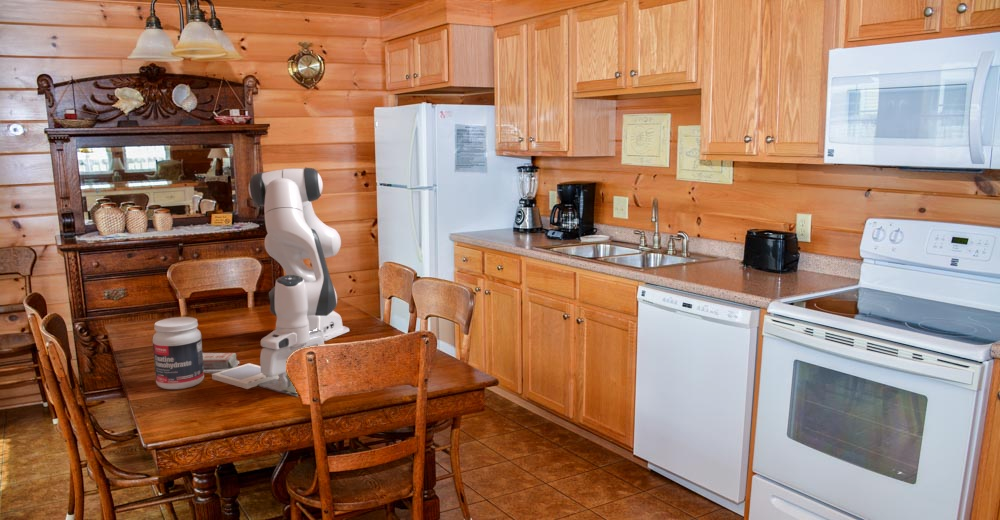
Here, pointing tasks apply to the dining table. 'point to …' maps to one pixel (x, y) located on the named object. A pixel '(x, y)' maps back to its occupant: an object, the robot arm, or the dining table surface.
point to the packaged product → (219, 362)
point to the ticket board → (250, 378)
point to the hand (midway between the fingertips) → (295, 383)
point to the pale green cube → (290, 388)
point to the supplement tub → (178, 353)
